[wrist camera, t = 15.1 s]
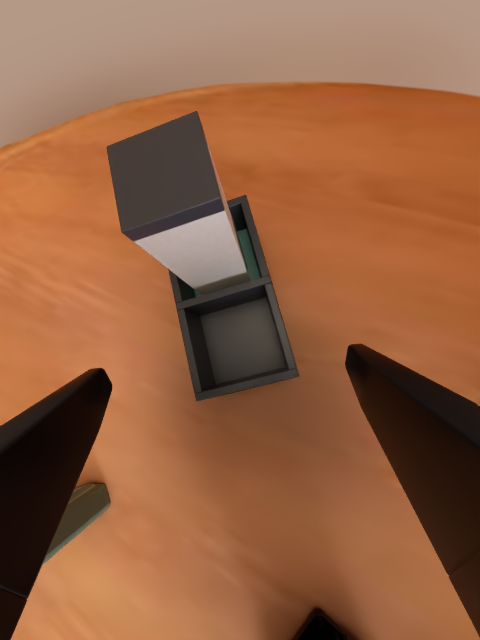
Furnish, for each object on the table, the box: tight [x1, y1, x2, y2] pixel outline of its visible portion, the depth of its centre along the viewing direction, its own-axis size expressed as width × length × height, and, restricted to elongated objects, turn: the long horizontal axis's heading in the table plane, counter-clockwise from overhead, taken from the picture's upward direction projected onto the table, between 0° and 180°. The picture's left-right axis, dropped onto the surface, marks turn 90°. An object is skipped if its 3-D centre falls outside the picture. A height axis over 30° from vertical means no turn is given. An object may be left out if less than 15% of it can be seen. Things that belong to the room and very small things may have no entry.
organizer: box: [169, 195, 299, 401], centre depth 20 cm, size 15×8×4 cm, turn 14°
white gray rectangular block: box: [107, 111, 251, 295], centre depth 16 cm, size 5×5×12 cm
